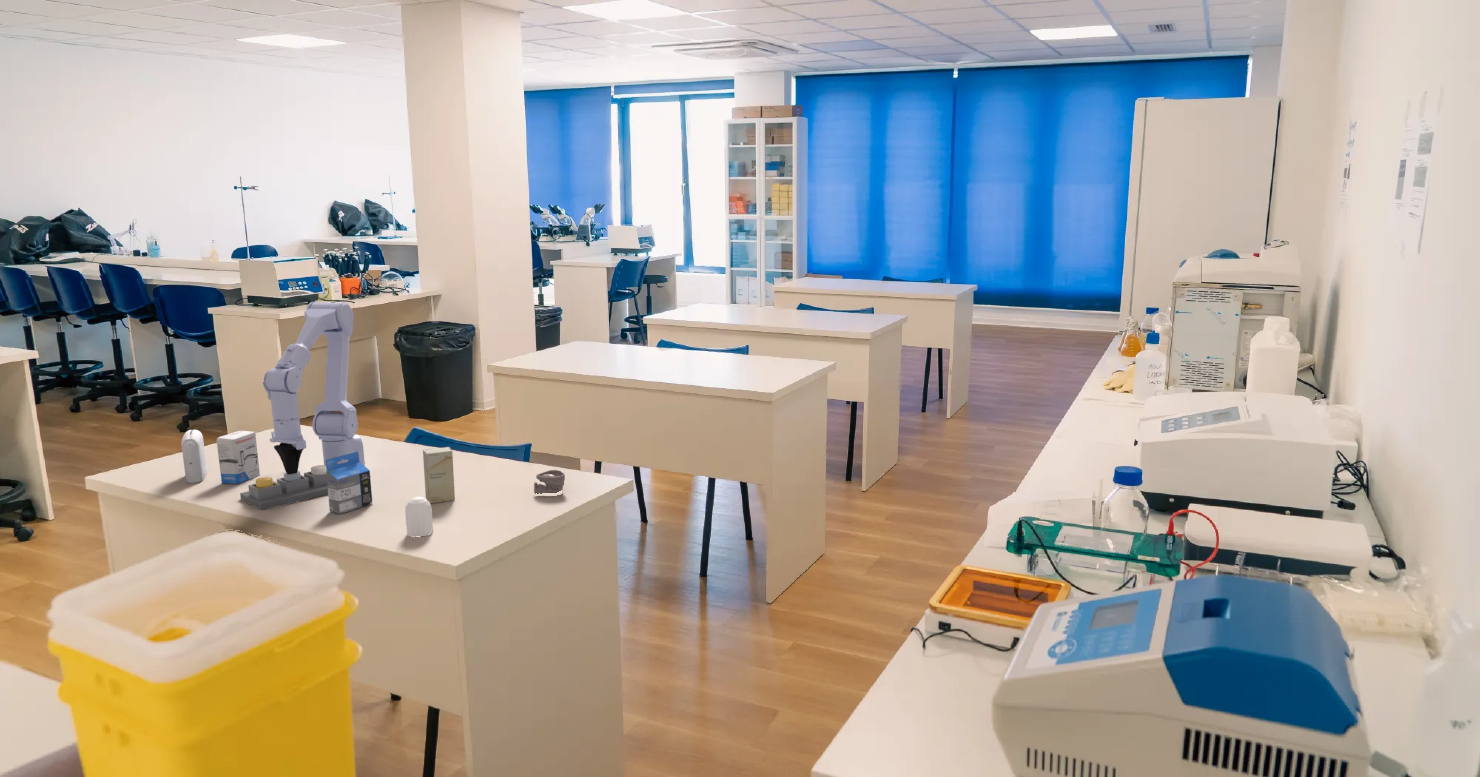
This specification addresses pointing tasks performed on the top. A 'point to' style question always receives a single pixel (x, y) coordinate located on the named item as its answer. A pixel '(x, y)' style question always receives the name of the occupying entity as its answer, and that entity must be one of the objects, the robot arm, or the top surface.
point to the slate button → (292, 477)
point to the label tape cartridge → (348, 484)
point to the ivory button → (318, 470)
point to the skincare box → (438, 474)
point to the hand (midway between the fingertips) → (292, 473)
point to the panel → (286, 491)
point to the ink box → (238, 457)
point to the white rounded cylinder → (419, 517)
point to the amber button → (264, 482)
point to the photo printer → (194, 456)
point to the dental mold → (549, 482)
